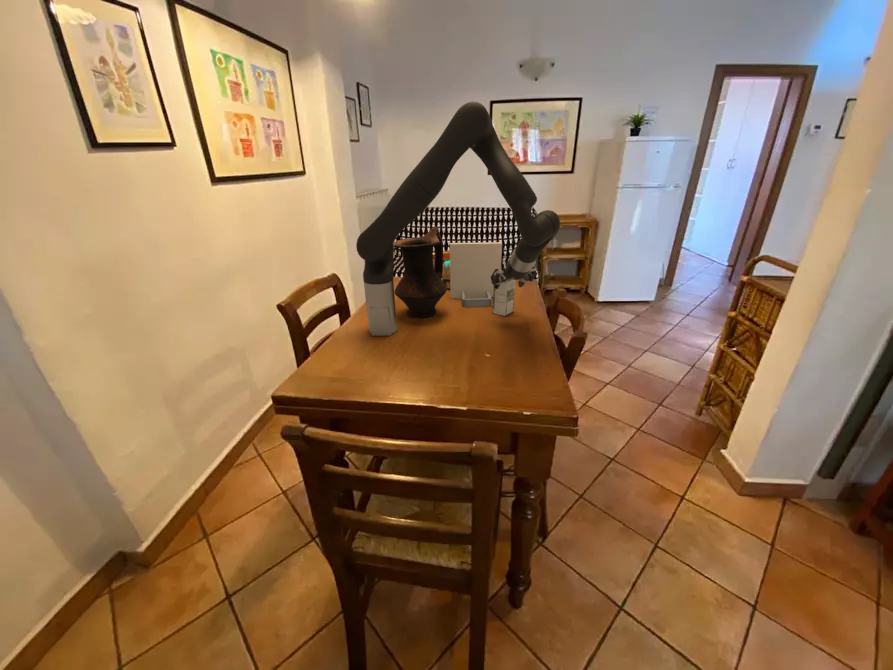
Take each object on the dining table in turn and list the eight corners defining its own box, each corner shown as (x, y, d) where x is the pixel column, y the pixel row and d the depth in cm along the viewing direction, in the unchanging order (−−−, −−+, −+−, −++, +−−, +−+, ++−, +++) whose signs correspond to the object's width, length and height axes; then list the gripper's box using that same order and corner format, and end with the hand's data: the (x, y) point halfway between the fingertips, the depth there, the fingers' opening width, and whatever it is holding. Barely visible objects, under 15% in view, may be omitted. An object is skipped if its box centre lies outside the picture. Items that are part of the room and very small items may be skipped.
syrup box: (500, 308, 140) (502, 271, 134) (513, 312, 137) (516, 273, 131) (491, 313, 136) (493, 274, 130) (505, 316, 133) (507, 277, 127)
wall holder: (503, 306, 143) (506, 248, 133) (451, 307, 143) (450, 249, 133) (498, 296, 153) (501, 242, 144) (450, 296, 153) (449, 243, 144)
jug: (424, 329, 124) (420, 238, 111) (385, 317, 134) (378, 232, 121) (461, 310, 139) (461, 228, 126) (423, 301, 149) (420, 224, 137)
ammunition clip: (442, 290, 161) (441, 263, 156) (442, 289, 163) (442, 262, 158) (466, 291, 160) (466, 264, 154) (467, 290, 161) (467, 262, 156)
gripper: (541, 249, 116) (525, 275, 131) (497, 251, 114) (486, 277, 129) (546, 270, 114) (529, 294, 129) (501, 273, 111) (489, 297, 127)
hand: (507, 285), depth 129 cm, fingers open, 8 cm apart
